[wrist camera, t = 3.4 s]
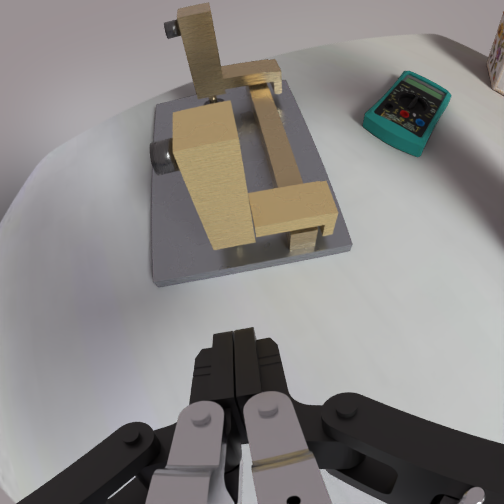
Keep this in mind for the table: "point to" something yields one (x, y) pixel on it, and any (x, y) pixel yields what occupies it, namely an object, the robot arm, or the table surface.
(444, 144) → the table surface
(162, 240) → the flange plate
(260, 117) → the tan block assembly
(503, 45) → the decorative jar
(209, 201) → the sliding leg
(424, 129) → the digital multimeter
